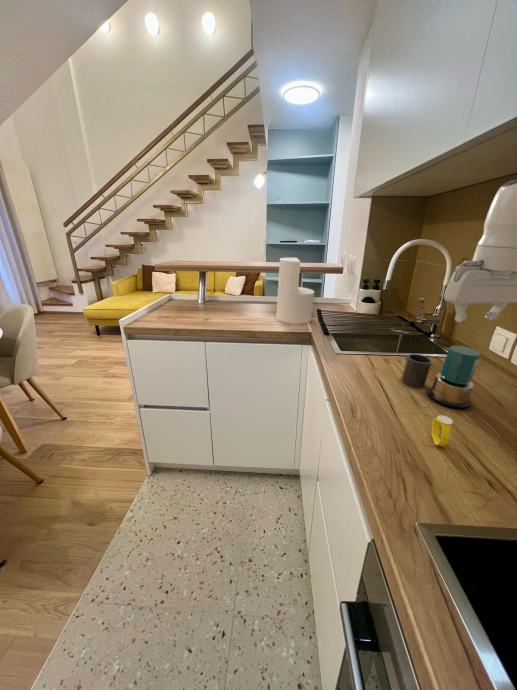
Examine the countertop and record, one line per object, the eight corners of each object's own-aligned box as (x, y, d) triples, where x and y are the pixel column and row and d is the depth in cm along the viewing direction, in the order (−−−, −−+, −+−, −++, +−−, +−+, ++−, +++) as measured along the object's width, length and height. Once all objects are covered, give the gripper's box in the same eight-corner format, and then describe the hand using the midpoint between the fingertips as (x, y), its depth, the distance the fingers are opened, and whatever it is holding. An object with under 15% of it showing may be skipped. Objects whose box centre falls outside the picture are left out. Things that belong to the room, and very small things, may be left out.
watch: (426, 430, 63) (433, 409, 61) (440, 433, 63) (447, 411, 60) (433, 449, 58) (441, 426, 56) (448, 452, 57) (457, 429, 55)
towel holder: (460, 391, 79) (476, 346, 74) (477, 412, 70) (497, 363, 65) (422, 386, 81) (435, 342, 76) (434, 406, 72) (450, 358, 67)
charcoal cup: (420, 378, 86) (427, 355, 82) (427, 389, 80) (435, 364, 77) (399, 376, 87) (405, 352, 84) (404, 386, 81) (410, 361, 78)
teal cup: (462, 374, 75) (472, 347, 72) (473, 385, 70) (485, 357, 67) (437, 371, 77) (446, 344, 73) (446, 382, 71) (456, 354, 68)
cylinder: (276, 322, 131) (280, 261, 120) (276, 312, 147) (279, 257, 136) (313, 324, 131) (320, 262, 120) (308, 313, 146) (314, 258, 135)
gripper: (473, 262, 56) (452, 327, 62) (545, 263, 61) (520, 322, 67) (446, 258, 62) (429, 318, 67) (515, 259, 67) (493, 315, 72)
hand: (475, 320), depth 67 cm, fingers open, 8 cm apart
